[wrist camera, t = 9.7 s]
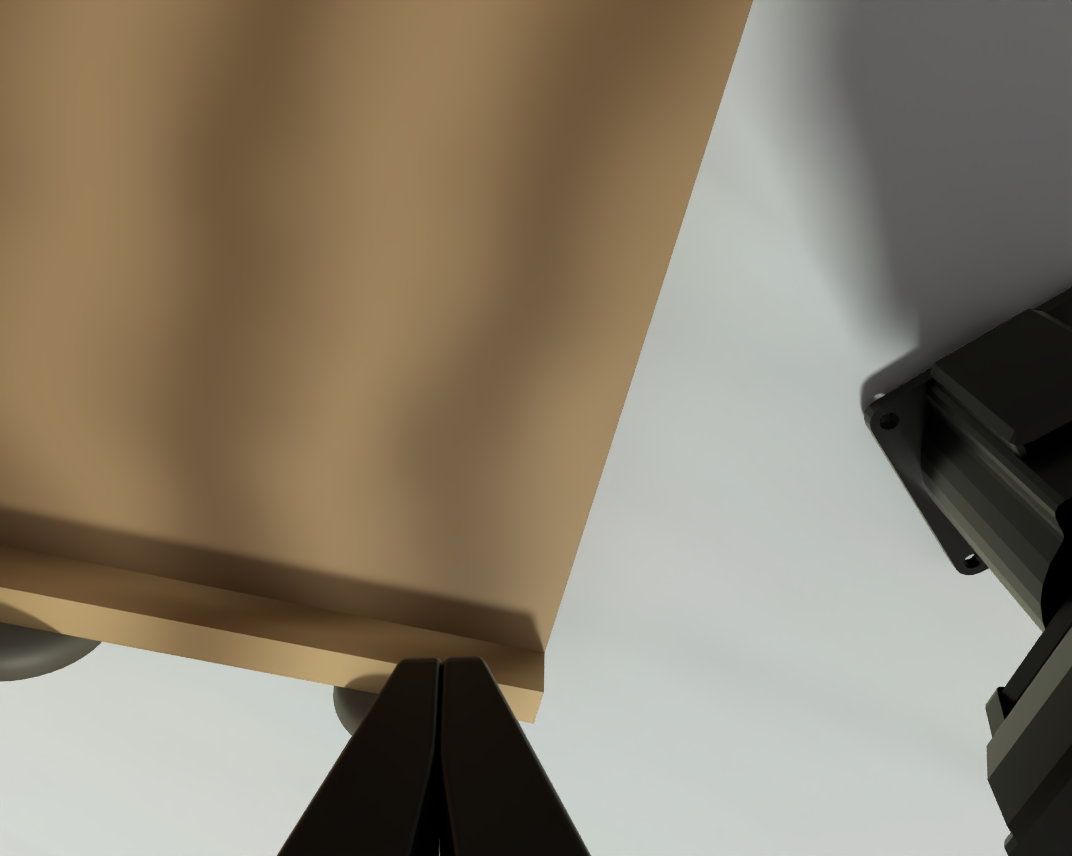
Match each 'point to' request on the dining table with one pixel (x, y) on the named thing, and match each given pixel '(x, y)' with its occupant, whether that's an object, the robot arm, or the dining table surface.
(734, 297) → the dining table surface
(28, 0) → the cart bed
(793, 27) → the dining table surface
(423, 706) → the robot arm
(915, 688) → the dining table surface
